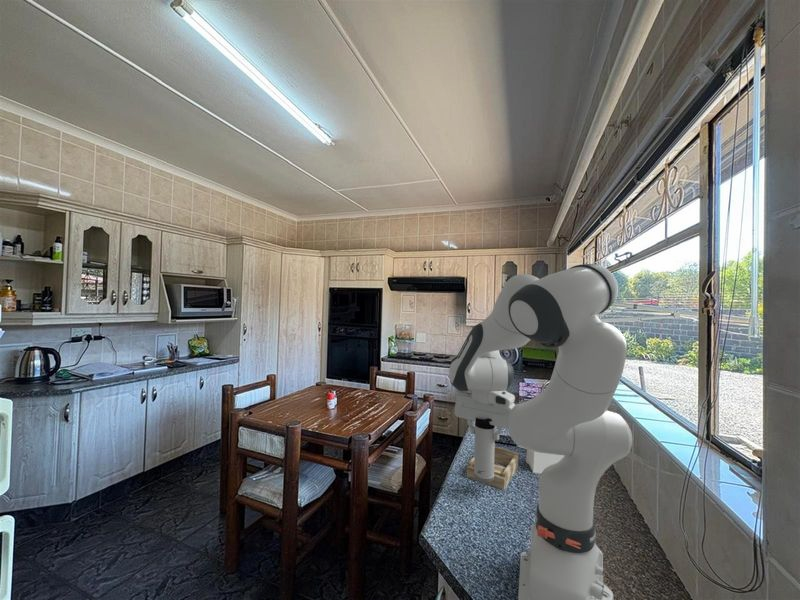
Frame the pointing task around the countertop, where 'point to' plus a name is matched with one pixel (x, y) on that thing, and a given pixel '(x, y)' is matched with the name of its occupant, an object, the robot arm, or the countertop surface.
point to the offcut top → (498, 470)
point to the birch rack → (500, 457)
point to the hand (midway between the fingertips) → (484, 436)
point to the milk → (541, 460)
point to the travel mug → (484, 450)
